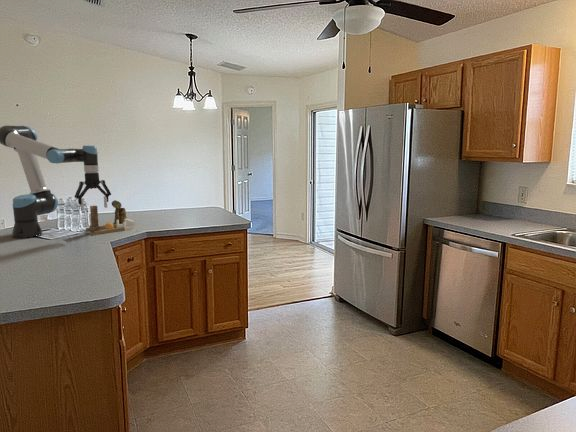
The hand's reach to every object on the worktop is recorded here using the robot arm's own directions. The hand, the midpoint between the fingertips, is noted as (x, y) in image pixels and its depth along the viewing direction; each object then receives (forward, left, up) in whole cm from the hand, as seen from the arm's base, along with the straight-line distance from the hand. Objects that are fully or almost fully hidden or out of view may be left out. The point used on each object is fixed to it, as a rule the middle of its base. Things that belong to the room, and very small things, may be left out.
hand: (94, 208), depth 259 cm
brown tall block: (0, 0, -14) cm, 14 cm away
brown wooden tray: (+9, 0, -16) cm, 18 cm away
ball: (+8, 0, -12) cm, 14 cm away
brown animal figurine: (+22, +17, -16) cm, 32 cm away
